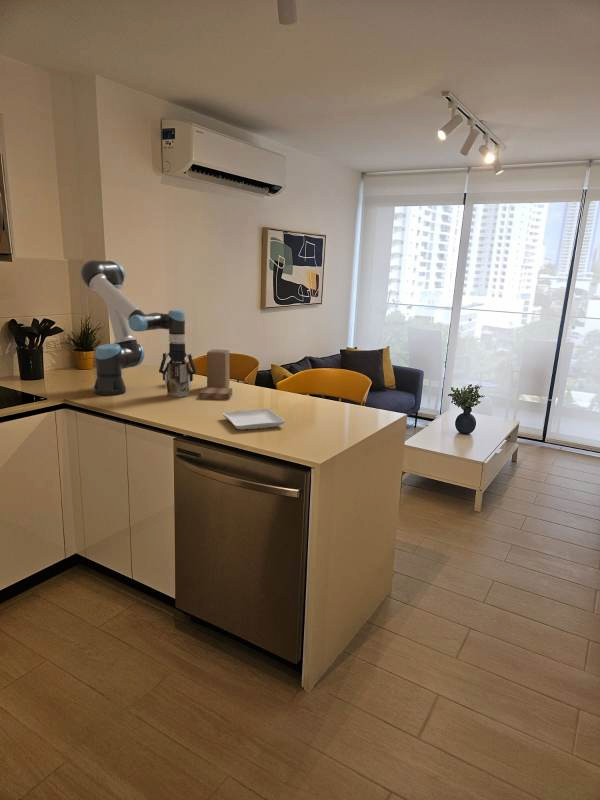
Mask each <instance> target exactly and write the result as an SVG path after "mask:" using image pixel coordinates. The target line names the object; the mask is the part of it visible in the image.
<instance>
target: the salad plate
mask: <svg viewBox="0 0 600 800" xmlns="http://www.w3.org/2000/svg"><path fill="white" fill-rule="evenodd" d="M221 414H222V416H223V417H224V418H225V419H226V420H228V421H229V422H230V423H231V424H232V425H233V426H234V427H235V428H236V429H237V430H241V431H242V430H243V431H244V430H245V431H246V429H248V430H259V429H258V428H260V429H268V428H269V427H270V428H277V427H280V426H282V425H284V424H285V423H286V420H285V419H283V418H282V417H281V416H279V415H278V414H276V413H275V412H274V411H272V410H271V409H270V408H259V409H258V408H257V409H247V410H245V409H244V410H237V411H236V410H234V411H224V412H221Z"/></svg>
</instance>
